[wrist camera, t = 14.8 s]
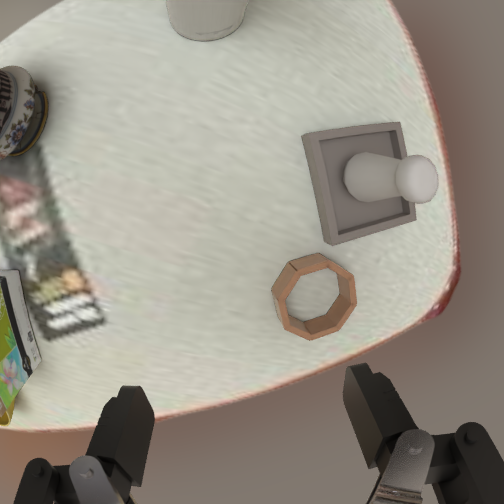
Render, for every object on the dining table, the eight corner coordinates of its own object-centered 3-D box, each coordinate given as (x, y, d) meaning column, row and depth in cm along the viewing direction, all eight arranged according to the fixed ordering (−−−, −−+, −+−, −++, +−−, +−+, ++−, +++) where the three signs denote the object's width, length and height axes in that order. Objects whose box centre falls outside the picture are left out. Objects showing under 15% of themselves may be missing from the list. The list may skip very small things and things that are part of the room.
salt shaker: (383, 173, 33) (456, 177, 21) (361, 209, 34) (430, 227, 22) (351, 144, 32) (420, 132, 19) (327, 180, 33) (390, 184, 20)
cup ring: (266, 268, 35) (272, 277, 32) (338, 246, 36) (350, 253, 32) (281, 334, 38) (288, 347, 34) (347, 311, 38) (358, 323, 35)
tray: (301, 136, 32) (308, 133, 29) (389, 124, 33) (399, 121, 30) (324, 241, 35) (332, 245, 33) (405, 217, 36) (416, 220, 34)
